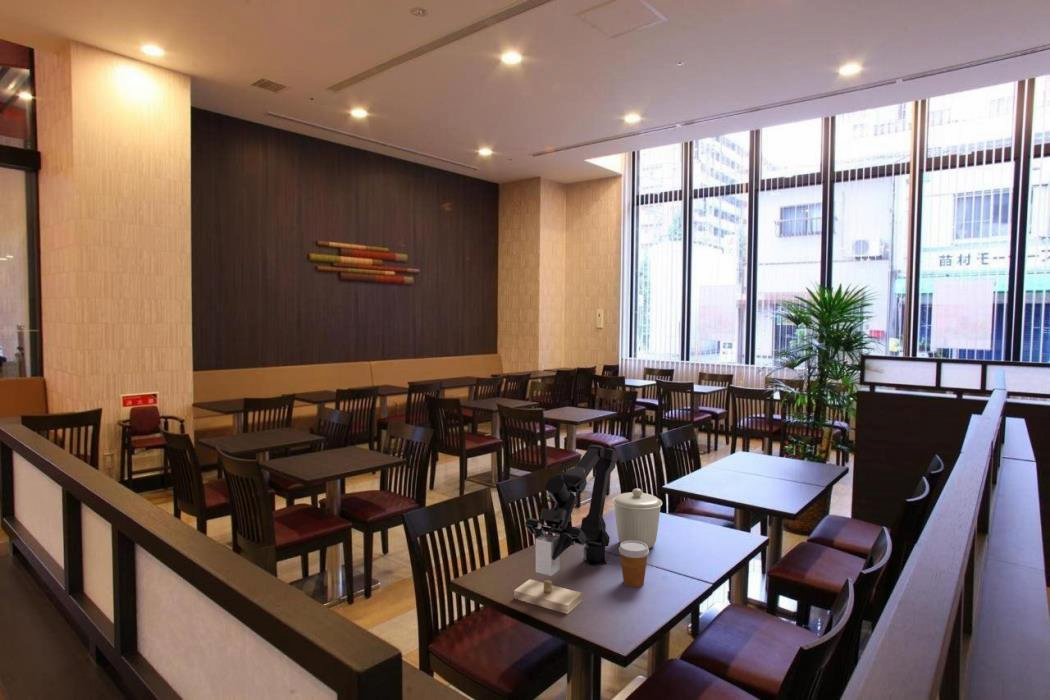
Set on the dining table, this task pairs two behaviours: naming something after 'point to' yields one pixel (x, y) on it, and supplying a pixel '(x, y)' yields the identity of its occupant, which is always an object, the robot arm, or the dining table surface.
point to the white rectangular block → (546, 554)
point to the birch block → (548, 596)
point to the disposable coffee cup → (633, 562)
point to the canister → (637, 517)
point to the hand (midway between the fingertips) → (545, 557)
